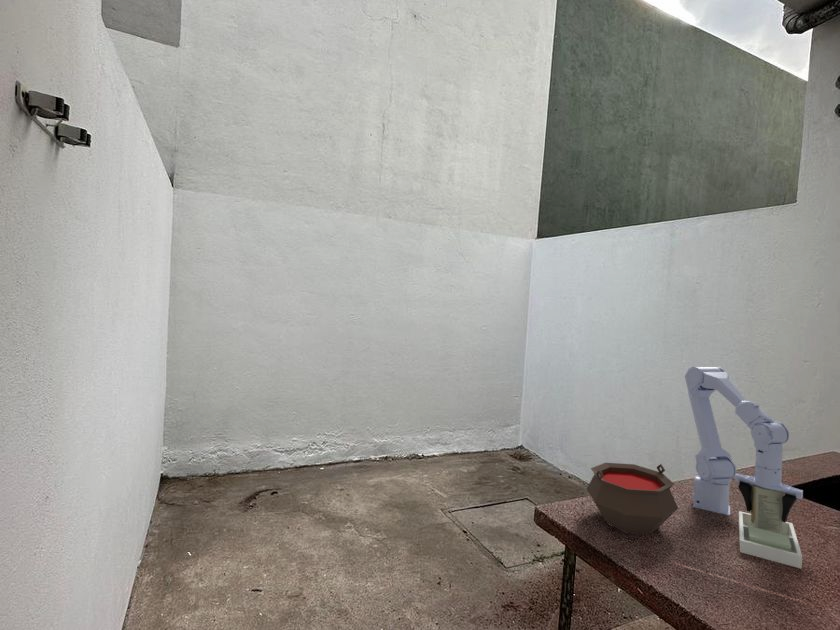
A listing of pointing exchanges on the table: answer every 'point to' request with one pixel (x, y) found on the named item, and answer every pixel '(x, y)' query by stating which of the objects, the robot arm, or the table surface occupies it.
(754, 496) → the skincare box
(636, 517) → the brown cauldron
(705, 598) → the table surface
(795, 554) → the white rectangular tray
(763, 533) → the pale green block
